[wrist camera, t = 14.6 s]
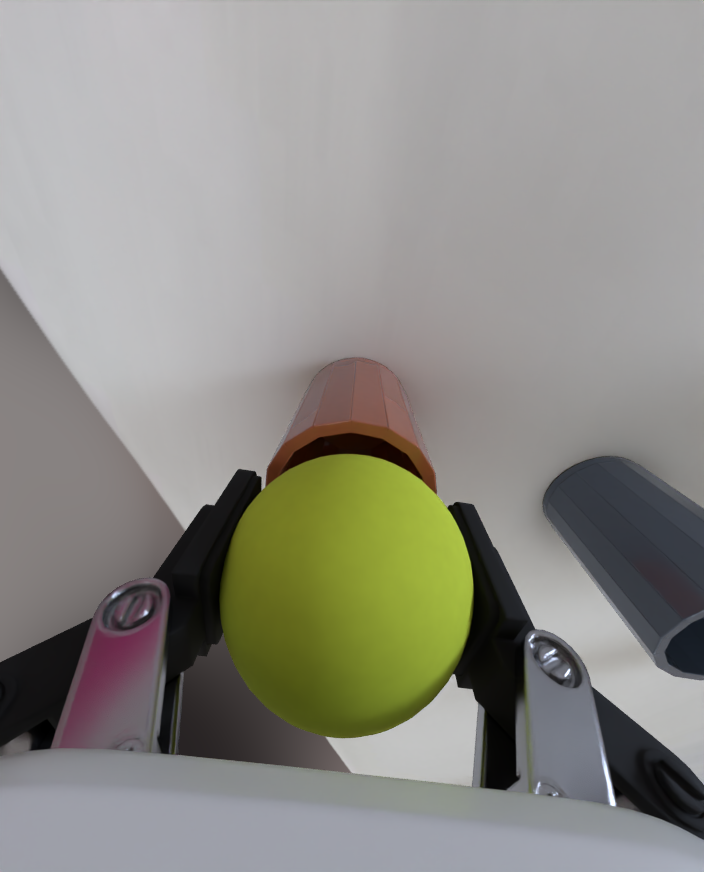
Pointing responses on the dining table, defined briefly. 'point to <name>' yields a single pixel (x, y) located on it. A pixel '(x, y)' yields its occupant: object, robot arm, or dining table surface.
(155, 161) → the dining table surface
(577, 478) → the grey cup
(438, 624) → the ball
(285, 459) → the terracotta cup
